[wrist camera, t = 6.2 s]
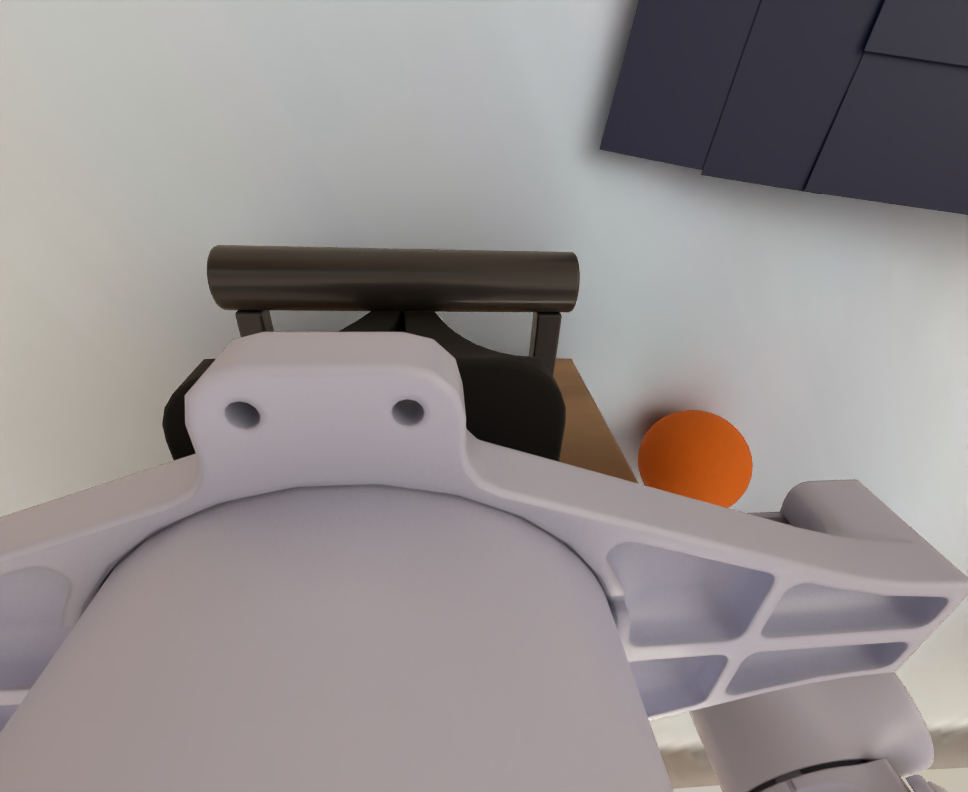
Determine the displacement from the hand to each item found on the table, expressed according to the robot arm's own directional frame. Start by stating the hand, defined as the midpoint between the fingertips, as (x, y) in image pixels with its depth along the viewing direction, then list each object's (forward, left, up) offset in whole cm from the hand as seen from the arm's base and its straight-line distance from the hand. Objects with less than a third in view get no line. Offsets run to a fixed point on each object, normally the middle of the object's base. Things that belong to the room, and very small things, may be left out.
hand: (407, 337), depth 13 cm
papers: (-26, -7, -4) cm, 27 cm away
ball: (-8, +10, -2) cm, 13 cm away
